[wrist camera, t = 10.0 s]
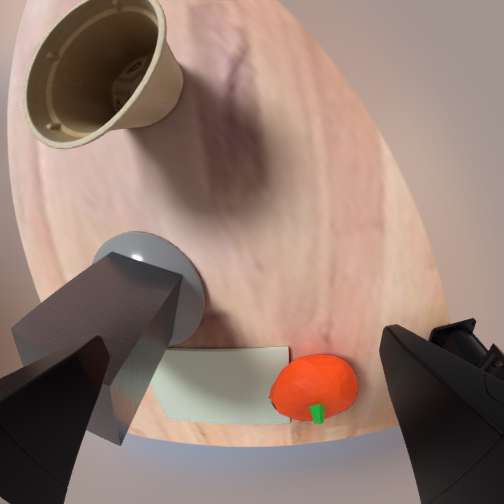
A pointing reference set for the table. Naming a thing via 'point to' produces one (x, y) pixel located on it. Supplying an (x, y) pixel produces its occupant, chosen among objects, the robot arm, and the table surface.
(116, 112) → the flower pot
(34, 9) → the table surface
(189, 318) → the slate coaster
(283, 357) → the rubber mat
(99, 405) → the dark grey square block
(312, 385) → the pumpkin
